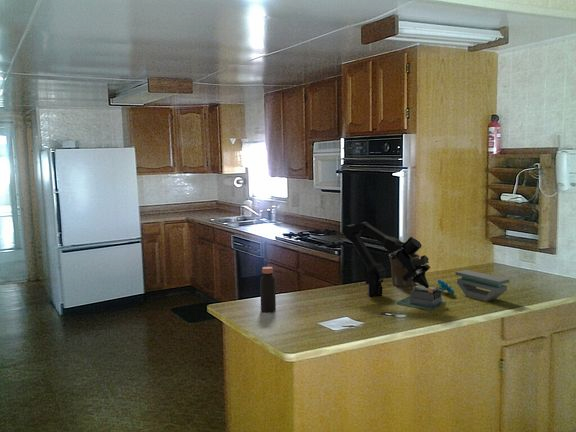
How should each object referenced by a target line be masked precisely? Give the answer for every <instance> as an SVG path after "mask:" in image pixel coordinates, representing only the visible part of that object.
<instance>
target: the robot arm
mask: <svg viewBox="0 0 576 432" xmlns="http://www.w3.org/2000/svg"><path fill="white" fill-rule="evenodd" d="M361 232H363V233H365V234H367V235H369V236H370V237H371V238H372V239H375V240H376V241H377V242H379V243H381V245H382V247H383V248H384V249H385V250H386V251H387V252H389V253H396V254H392V260H394V259H398V261H399V262H400V263H401V264H402V266H403V267H402V268H403V269H404V268H405V269H406V270H407V272H406V273H405V274H404V275H403V276H402V280H403V281H404V282H407V281H408V279H409V278H410V277H412V278H413V279H412V280H411V281H414V282H415V284H417V285H418V284H420V285H421V286H424V287H426V288H428V287H430V285H429V283H428V280H427V277H426V272H428V271H429V270H430V269H431V266H430V265H429V257H428V256H427V255H425V254H424V255H422V256H420V258H419V259H418V260H416V259H415V258H413V259H412V257H411V256H410V255H414V254H417V252H418V251H419V250H420V249H421V248H422V244H421V242H420V241H419V240H418V239H416V238H414V237H413V236H410V237H409V238H407V240H406V241H405V242H403V241H401V240H400V239H399V238H396V237H393V236H391V235H390V236H389V235H387V234H386V233H384V232H382V231H380V230H379V229H378V228H376V227H375V226H374V225H373V226H372V225H371V224H370V223H369V222H368V221H364V222H363V221H362V222H360V223H358V224H347V225H345V226H344V227H343V228H342V235H343V236H344V237H345V238H346V239H347V241H349V242H351V243H352V245H353V246H354V249H355V250H356V251H357V252H358V254H359V256H360V258H361V259H362V261H363V262H364V264H365V265H366V268H367V274H368V277H366V278H365V280H364V281H365V284H366V285H367V292H366V294H367V296H368V297H370V298H373V297H376V298H378V297H383V286H382V283H384V280H385V279H386V276H387V269H386V268H385V267H384V265H383V264H382V263H378V262H377V261H376V260H375V258H374V257H373V255H372V254H371V253H370V250H369V249H368V247H367V246H366V244H365V242H364V241H363V239H362V235H361Z"/></svg>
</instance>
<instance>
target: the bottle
mask: <svg viewBox="0 0 576 432" xmlns="http://www.w3.org/2000/svg"><path fill="white" fill-rule="evenodd" d="M261 274H262V276H261V277H260V279H259V283H260V285H259V287H260V288H259V289H260V292H259V293H260V312H262V313H264V312H271V313H275V312H276V311H277V309H276V307H277V305H276V298H277V295H276V278H275V277H274V275H273V274H274V268H273V267H272V266H263V267H262V268H261Z"/></svg>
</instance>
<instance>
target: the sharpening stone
mask: <svg viewBox="0 0 576 432" xmlns="http://www.w3.org/2000/svg"><path fill="white" fill-rule="evenodd" d="M455 276H459V278H456V279H457V280H456V284H457V285H458V287H459V288H460V289H461V291H462V293H464V294H463V295H465V297H469V298H472V299H475V300H479V301H483V302H488V301H492V300H496V299H498V298H499V297H500V296H502V295H503V294H505V292H507V291H508V285H505V284H508V283H510V278H505V277H500V276H496V275H492V274H487V273H482V272H477V271H473V270H468V269H464V270H459V271H455Z"/></svg>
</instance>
